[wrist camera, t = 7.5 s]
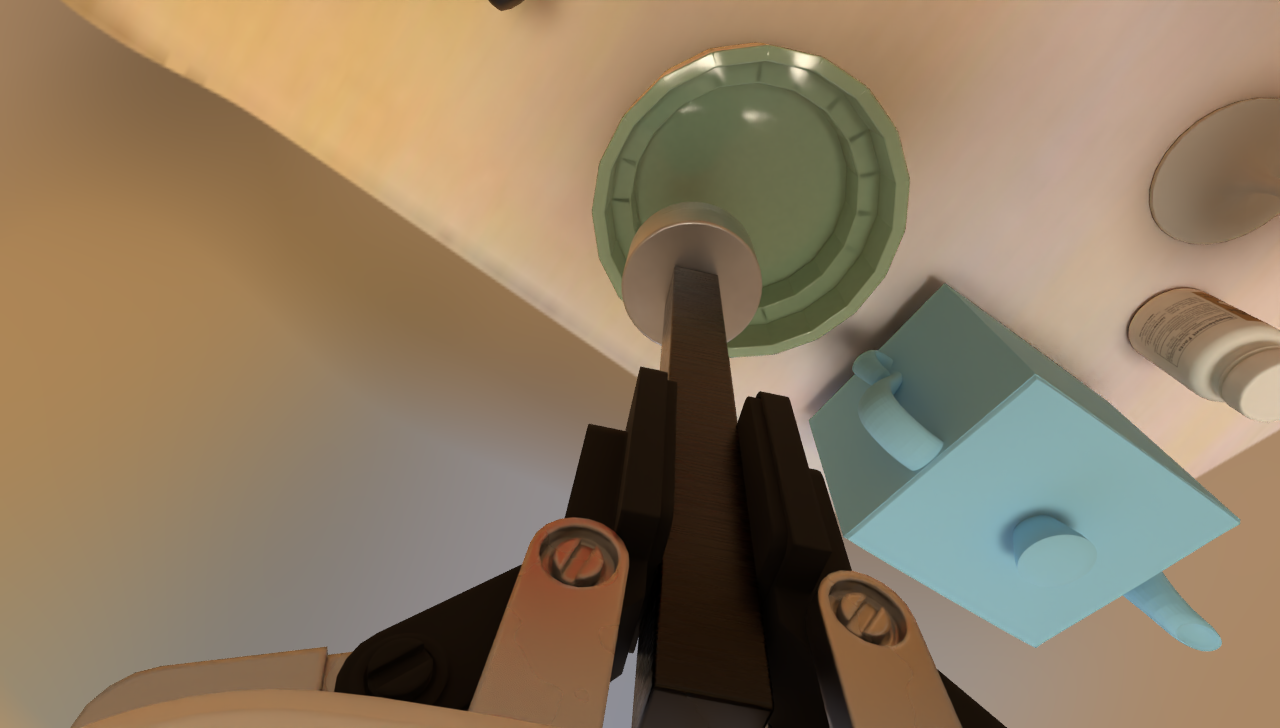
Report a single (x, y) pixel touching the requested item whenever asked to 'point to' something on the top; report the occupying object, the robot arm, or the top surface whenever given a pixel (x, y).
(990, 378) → the teapot
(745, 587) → the square post on disc
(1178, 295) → the pill bottle
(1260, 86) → the top surface
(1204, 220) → the wineglass
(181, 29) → the top surface
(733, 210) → the bowl
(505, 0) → the mug
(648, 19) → the top surface
